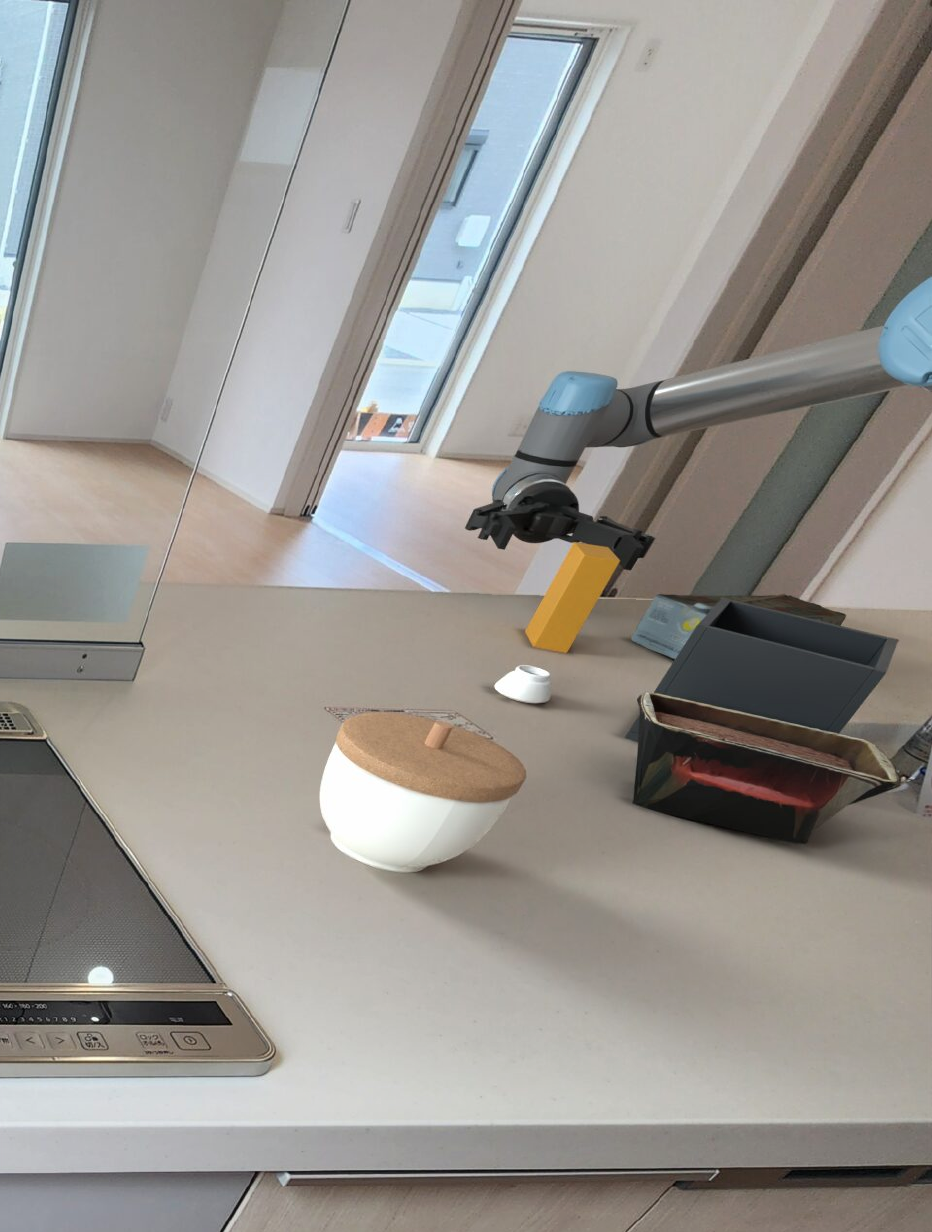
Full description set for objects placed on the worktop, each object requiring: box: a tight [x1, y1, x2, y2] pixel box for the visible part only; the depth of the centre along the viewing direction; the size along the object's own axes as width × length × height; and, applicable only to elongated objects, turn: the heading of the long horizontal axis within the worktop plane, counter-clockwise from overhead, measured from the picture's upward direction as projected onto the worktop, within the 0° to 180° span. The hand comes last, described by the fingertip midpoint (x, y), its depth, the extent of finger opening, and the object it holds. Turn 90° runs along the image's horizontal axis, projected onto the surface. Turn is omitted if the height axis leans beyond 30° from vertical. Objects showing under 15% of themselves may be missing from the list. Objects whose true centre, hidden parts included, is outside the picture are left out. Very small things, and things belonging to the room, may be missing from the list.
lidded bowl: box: [319, 712, 527, 874], centre depth 83 cm, size 13×13×11 cm
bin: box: [624, 598, 899, 743], centre depth 104 cm, size 14×14×12 cm
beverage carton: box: [631, 593, 847, 660], centre depth 128 cm, size 8×19×7 cm, turn 96°
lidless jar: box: [494, 664, 552, 704], centre depth 114 cm, size 5×3×5 cm
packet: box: [524, 542, 620, 654], centre depth 126 cm, size 4×6×11 cm, turn 155°
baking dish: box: [632, 691, 902, 845], centre depth 94 cm, size 14×18×10 cm
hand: (569, 548), depth 131 cm, fingers open, 13 cm apart
